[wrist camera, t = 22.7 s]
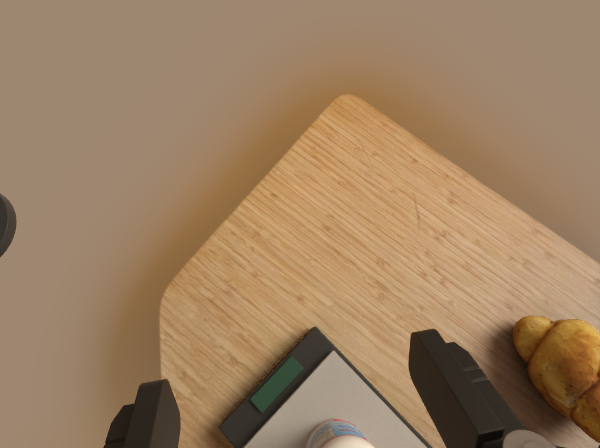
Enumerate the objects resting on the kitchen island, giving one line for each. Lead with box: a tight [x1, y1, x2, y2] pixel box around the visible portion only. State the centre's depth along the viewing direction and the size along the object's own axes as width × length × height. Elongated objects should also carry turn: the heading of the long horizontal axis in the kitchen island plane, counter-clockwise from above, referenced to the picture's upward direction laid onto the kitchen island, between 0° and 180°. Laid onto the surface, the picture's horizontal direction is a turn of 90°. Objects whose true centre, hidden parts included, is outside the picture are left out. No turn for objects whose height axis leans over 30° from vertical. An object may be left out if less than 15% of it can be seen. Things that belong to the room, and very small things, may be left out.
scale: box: [219, 327, 432, 448], centre depth 37 cm, size 14×17×3 cm
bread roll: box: [513, 316, 600, 443], centre depth 39 cm, size 13×10×8 cm
